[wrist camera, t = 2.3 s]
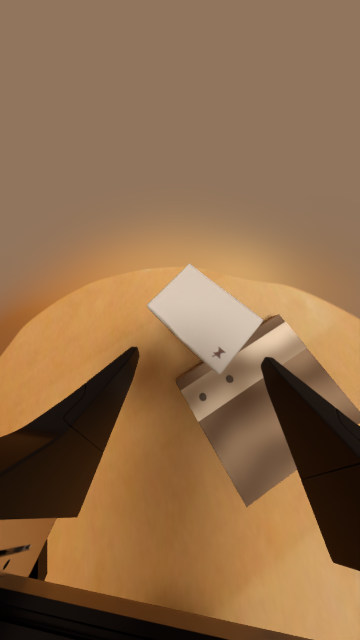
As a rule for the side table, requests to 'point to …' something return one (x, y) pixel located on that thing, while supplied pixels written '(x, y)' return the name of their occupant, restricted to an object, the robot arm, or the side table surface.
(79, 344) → the side table surface
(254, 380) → the bent metal bracket plate
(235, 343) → the skincare box
